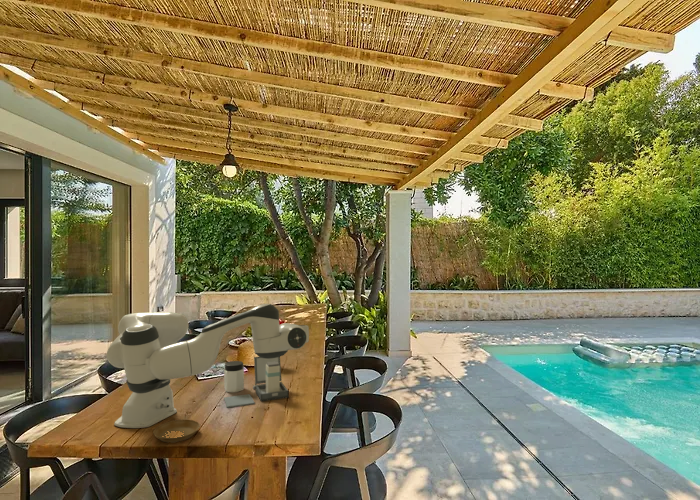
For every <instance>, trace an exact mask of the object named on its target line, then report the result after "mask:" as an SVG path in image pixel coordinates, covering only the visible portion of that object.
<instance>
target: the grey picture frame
mask: <svg viewBox="0 0 700 500" xmlns="http://www.w3.org/2000/svg"><path fill="white" fill-rule="evenodd" d="M276 361H277V362H278V364H279V366H280V382H282V372H281V371H282V368H281V356H280V357H277V358H270V359H266V358H261V357H259V356H254V357H253V365H254V385H255V384H257V385H259V384H266V364H267V362H276Z"/></svg>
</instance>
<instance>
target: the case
mask: <svg viewBox="0 0 700 500" xmlns="http://www.w3.org/2000/svg"><path fill="white" fill-rule="evenodd" d="M252 389H253V390H255V394H256V396H257V398H258V400H259V402H267V401H274V400H280V399H289V393H290V392H289V389H288V388H287V387H286V386H285V384H284V383H283V382H282V381H280V391H278V392H270V393H266V383H261V384H255V383H254V385H252Z"/></svg>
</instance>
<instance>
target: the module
mask: <svg viewBox="0 0 700 500" xmlns="http://www.w3.org/2000/svg"><path fill="white" fill-rule="evenodd" d="M280 382H281V381H280V366H279V364H278V362H277V361H276V362H267V364H266V383H265V384H266V393H270V392H278V391H280Z"/></svg>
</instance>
